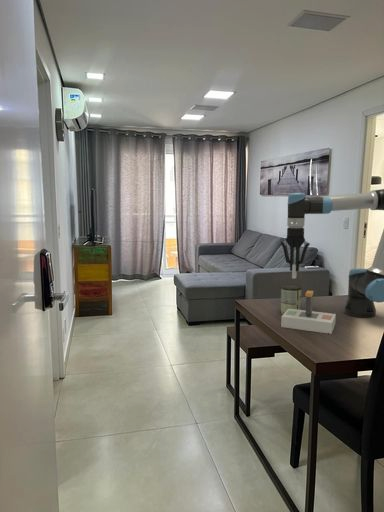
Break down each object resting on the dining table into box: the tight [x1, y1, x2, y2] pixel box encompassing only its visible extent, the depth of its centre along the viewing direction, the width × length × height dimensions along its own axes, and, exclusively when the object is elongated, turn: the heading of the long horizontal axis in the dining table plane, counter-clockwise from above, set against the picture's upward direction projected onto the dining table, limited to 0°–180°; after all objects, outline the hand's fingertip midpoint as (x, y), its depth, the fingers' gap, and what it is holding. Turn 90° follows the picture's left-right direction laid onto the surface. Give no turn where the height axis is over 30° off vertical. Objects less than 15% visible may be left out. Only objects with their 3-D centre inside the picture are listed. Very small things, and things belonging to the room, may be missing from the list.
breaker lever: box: [305, 290, 314, 316], centre depth 176 cm, size 3×6×11 cm, turn 153°
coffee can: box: [280, 283, 303, 315], centre depth 197 cm, size 10×10×14 cm
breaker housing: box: [280, 309, 337, 335], centre depth 177 cm, size 22×14×5 cm, turn 63°
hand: (294, 278), depth 177 cm, fingers closed
